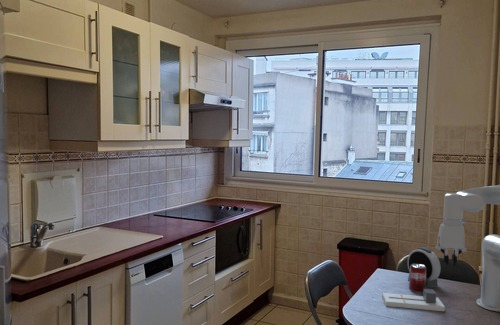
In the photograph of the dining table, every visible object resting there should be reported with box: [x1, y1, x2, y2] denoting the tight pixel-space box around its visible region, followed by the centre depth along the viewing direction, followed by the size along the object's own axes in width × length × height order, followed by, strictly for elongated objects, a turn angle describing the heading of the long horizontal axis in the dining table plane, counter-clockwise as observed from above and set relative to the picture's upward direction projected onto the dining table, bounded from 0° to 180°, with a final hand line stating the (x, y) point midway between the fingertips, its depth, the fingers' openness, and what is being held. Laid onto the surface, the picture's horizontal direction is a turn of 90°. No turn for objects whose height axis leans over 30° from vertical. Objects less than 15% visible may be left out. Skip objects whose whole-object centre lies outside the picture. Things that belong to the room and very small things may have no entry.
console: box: [381, 292, 446, 312], centre depth 182 cm, size 24×10×2 cm, turn 80°
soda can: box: [408, 264, 427, 294], centre depth 199 cm, size 7×7×12 cm
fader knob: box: [422, 288, 437, 303], centre depth 181 cm, size 4×5×4 cm
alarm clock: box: [406, 246, 442, 289], centre depth 208 cm, size 16×10×18 cm, turn 28°
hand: (449, 263), depth 179 cm, fingers closed
